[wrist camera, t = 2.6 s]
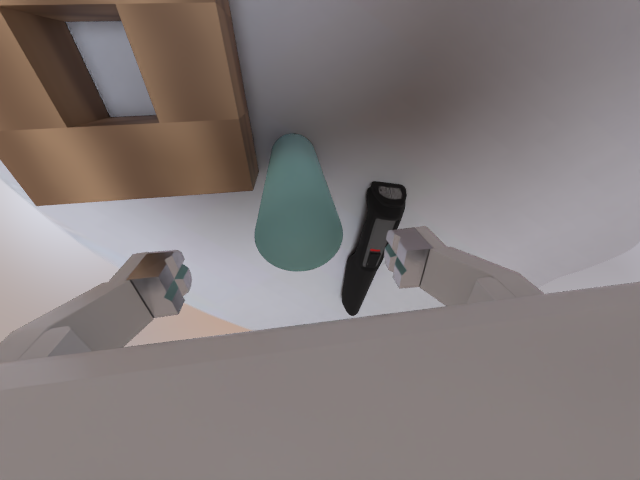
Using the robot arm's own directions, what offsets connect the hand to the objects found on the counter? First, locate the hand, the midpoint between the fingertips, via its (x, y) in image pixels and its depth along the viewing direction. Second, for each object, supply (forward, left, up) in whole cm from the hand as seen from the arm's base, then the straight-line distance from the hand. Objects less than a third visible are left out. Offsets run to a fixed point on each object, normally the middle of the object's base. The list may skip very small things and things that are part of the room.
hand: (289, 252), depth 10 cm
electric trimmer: (-8, +10, -13) cm, 18 cm away
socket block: (+10, -6, -12) cm, 17 cm away
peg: (0, 0, -12) cm, 12 cm away
